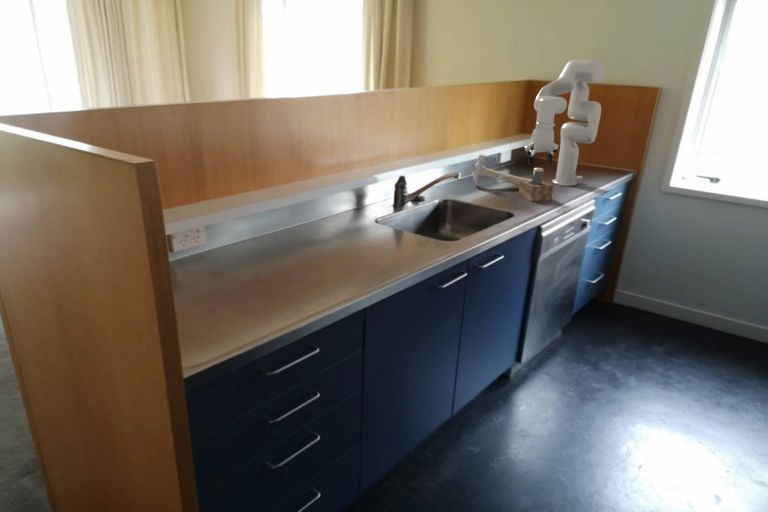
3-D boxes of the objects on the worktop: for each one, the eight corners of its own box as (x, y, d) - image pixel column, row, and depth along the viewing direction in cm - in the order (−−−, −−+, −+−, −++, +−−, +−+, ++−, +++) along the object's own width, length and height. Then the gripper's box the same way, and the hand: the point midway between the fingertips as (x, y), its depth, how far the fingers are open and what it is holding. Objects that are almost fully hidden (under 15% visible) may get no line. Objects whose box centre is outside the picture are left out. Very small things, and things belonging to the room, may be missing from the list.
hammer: (535, 168, 268) (478, 153, 266) (537, 170, 263) (479, 154, 262) (524, 198, 273) (468, 182, 272) (526, 200, 269) (469, 184, 268)
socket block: (538, 194, 258) (540, 180, 256) (551, 200, 248) (553, 185, 246) (518, 195, 255) (520, 181, 253) (530, 201, 245) (532, 186, 243)
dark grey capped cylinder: (536, 196, 254) (540, 167, 249) (541, 198, 250) (545, 169, 245) (528, 196, 253) (531, 167, 248) (533, 199, 249) (537, 169, 244)
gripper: (555, 124, 246) (551, 161, 252) (523, 126, 241) (518, 163, 247) (565, 127, 239) (560, 164, 246) (532, 128, 234) (527, 166, 241)
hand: (539, 164), depth 246 cm, fingers open, 9 cm apart
